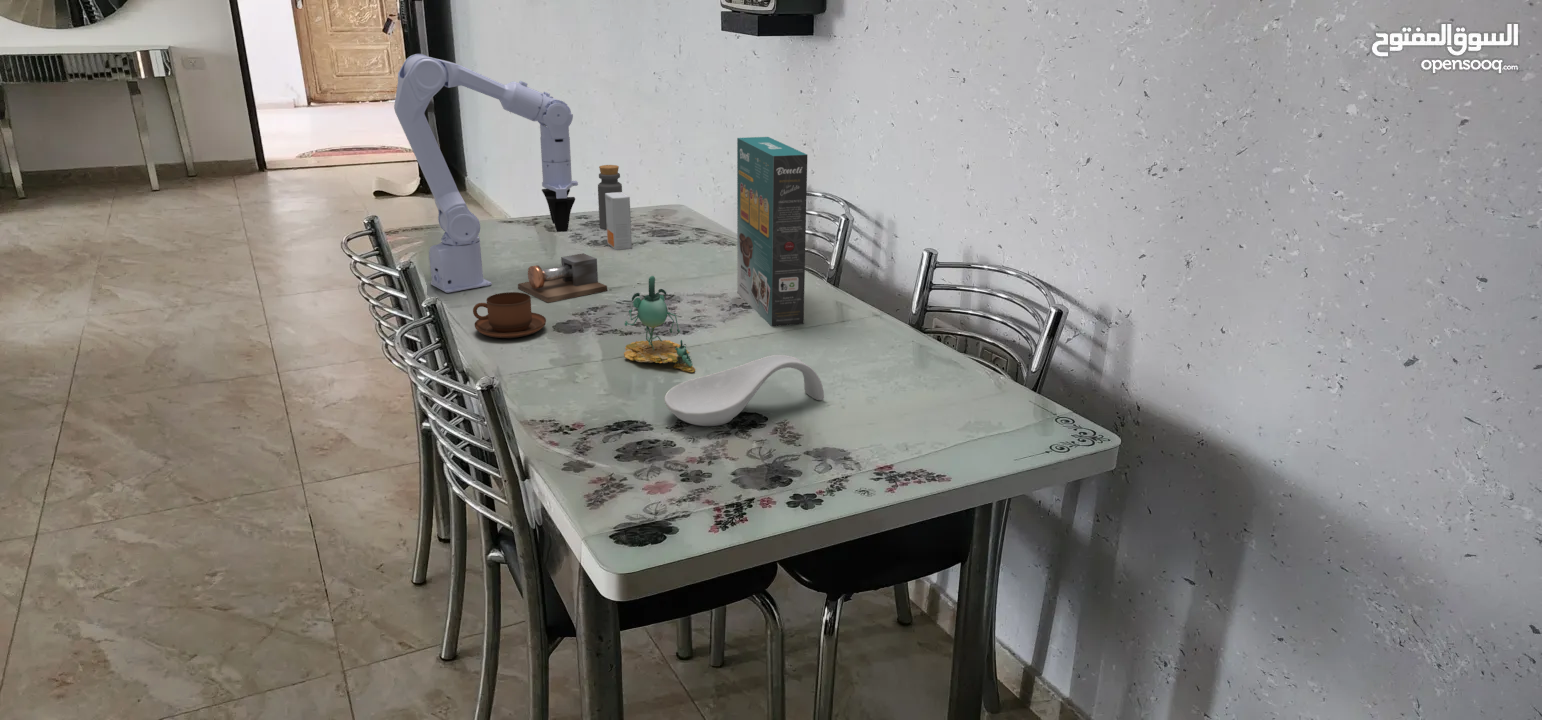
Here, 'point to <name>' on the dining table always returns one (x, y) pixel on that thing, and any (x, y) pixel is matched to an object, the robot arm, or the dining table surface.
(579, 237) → the dining table surface
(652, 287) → the teal creature figurine
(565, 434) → the dining table surface
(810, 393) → the spoon rest
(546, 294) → the stand
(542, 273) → the shaft
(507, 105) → the robot arm
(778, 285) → the cake mix box
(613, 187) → the bottle
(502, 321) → the cup and saucer
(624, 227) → the skincare box
